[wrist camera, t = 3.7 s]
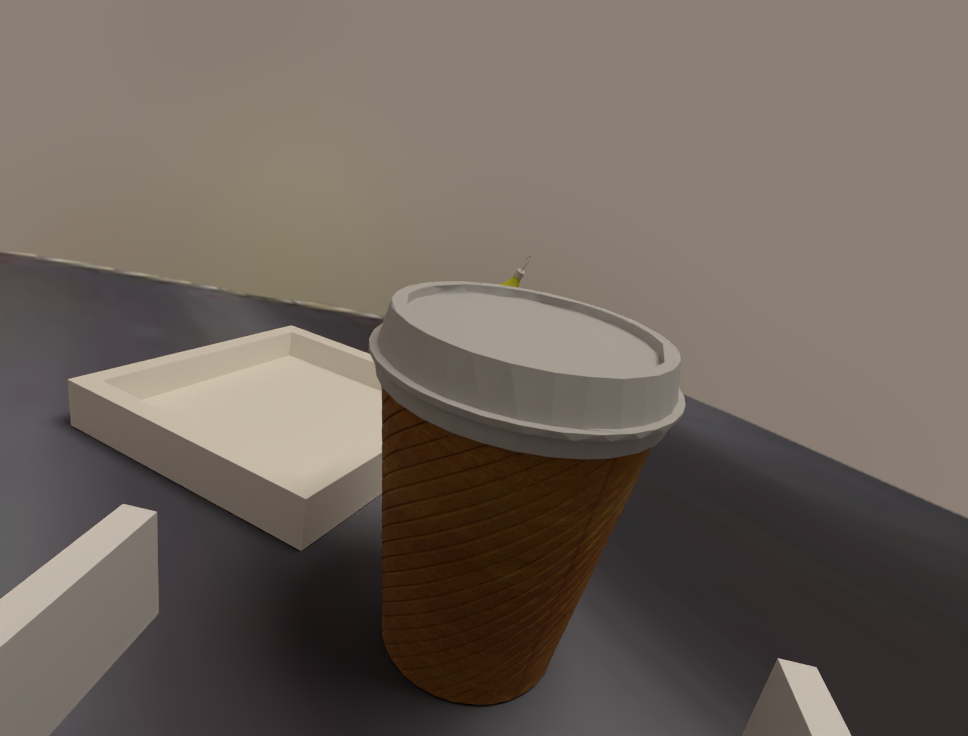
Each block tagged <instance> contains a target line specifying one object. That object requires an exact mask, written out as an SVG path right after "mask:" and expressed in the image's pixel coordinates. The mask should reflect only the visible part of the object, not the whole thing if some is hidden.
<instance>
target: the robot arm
mask: <svg viewBox="0 0 968 736" xmlns="http://www.w3.org/2000/svg"><path fill="white" fill-rule="evenodd" d="M158 613H159V604H158V538H157V512H155V511H151V510H147V509H142V508H138V507H134V506H130V505H125V504H122V505H121V506H120V507H118V508H117V509H116V510H115V511H113V512H112V513H111V514H109V515H108V516H107V517H106V518H104V519H103V520H102V521H100V522H99V523H98V524H97V525H95V526H94V527H93V528H91V529H90V530H89V531H88V532H86V533H85V534H84V535H82V536H81V537H80V538H79V539H77V540H76V541H75V542H73V543H72V544H71V545H70V546H68V547H67V548H66V549H64V550H63V551H62V552H61V553H59V554H58V555H57V556H55V557H54V558H53V559H52V560H50V561H49V562H48V563H46V564H45V565H44V566H43V567H41V568H40V569H39V570H37V571H36V572H35V573H33V574H32V575H31V576H30V577H28V578H27V579H26V580H24V581H23V582H22V583H21V584H19V585H18V586H17V587H15V588H14V589H13V590H12V591H10V592H9V593H8V594H6V595H5V596H4V597H3V598H1V599H0V736H49V735H50V734H51V733H52V732H53V731H54V729H55V728H56V727H57V726H58V725H59V724H60V723H61V722H62V721H63V719H64V718H65V717H66V716H67V715H68V714H69V713H70V712H71V710H72V709H73V708H74V707H75V706H76V705H77V704H78V703H79V702H80V700H81V699H82V698H83V697H84V696H85V695H86V694H87V693H88V691H89V690H90V689H91V688H92V687H93V686H94V685H95V684H96V683H97V681H98V680H99V679H100V678H101V677H102V676H103V675H104V674H105V672H106V671H107V670H108V669H109V668H110V667H111V666H112V665H113V664H114V662H115V661H116V660H117V659H118V658H119V657H120V656H121V655H122V653H123V652H124V651H125V650H126V649H127V648H128V647H129V646H130V645H131V643H132V642H133V641H134V640H135V639H136V638H137V637H138V636H139V634H140V633H141V632H142V631H143V630H144V629H145V628H146V627H147V626H148V624H149V623H150V622H151V621H152V620H153V619H154V618H155V617H156V615H157V614H158ZM742 736H851V734H850V732H849V730H848V728H847V726H846V724H845V722H844V720H843V719H842V717H841V715H840V713H839V711H838V709H837V707H836V705H835V703H834V701H833V699H832V697H831V695H830V693H829V691H828V689H827V687H826V685H825V683H824V681H823V679H822V677H821V675H820V673H819V671H818V670H817V668H816V667H812V666H808V665H804V664H800V663H795V662H791V661H787V660H783V659H777V661H776V663H775V666H774V668H773V670H772V672H771V674H770V676H769V678H768V681H767V683H766V685H765V687H764V689H763V691H762V693H761V696H760V698H759V700H758V702H757V704H756V706H755V708H754V710H753V713H752V715H751V717H750V719H749V721H748V723H747V725H746V728H745V730H744V732H743V734H742Z"/></svg>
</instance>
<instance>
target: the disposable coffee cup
mask: <svg viewBox="0 0 968 736" xmlns="http://www.w3.org/2000/svg"><path fill="white" fill-rule="evenodd" d="M369 353H370V355H371V357H372V359H373V361H374V363H375V368H376V376H377V378H378V380H379V382H380V384H381V388H382V495H383V497H382V527H383V528H382V536H381V537H382V543H383V544H382V551H381V552H382V558H383V559H382V573H383V574H382V587H383V589H382V601H383V603H382V615H383V616H382V637H383V640H384V643H385V646H386V650H387V652H388V654H389V656H390V658H391V659H392V661H393V663H394V664H395V665H396V666H397V668H398V669H399V670H400V671H401V672H402V673H403V675H404V676H406V677H407V678H408V679H409V680H411V681H412V682H413V683H414V684H416V685H417V686H418V687H420V688H422V689H424V690H425V691H427V692H429V693H431V694H433V695H435V696H437V697H440V698H443V699H446V700H449V701H452V702H458V703H466V704H474V705H487V704H495V703H500V702H505V701H509V700H511V699H513V698H515V697H517V696H519V695H521V694H523V693H525V692H527V691H528V690H529V689H531V688H532V687H533V686H535V685H536V684H537V683H538V681H539V680H540V679H541V677H542V676H543V675H544V674H545V672H546V669H547V667H548V665H549V662H550V660H551V658H552V656H553V653H554V651H555V649H556V647H557V645H558V643H559V641H560V638H561V637H562V635H563V633H564V631H565V629H566V627H567V624H568V622H569V620H570V618H571V616H572V614H573V612H574V609H575V607H576V606H577V604H578V602H579V599H580V597H581V595H582V593H583V592H584V590H585V588H586V585H587V583H588V581H589V578H590V577H591V575H592V572H593V570H594V568H595V566H596V564H597V562H598V560H599V557H600V555H601V553H602V551H603V549H604V547H605V546H606V544H607V541H608V539H609V536H610V535H611V533H612V531H613V529H614V527H615V524H616V522H617V520H618V518H619V516H620V514H621V512H622V510H623V507H624V505H625V503H626V501H627V499H628V498H629V495H630V493H631V491H632V488H633V486H634V484H635V483H636V481H637V479H638V476H639V474H640V471H641V469H642V467H643V465H644V463H645V461H646V459H647V457H648V455H649V452H650V450H651V448H652V447H653V446H655V445H656V444H657V443H658V442H659V441H660V440H661V439H662V438H663V437H664V436H665V435H666V432H667V430H669V429H670V428H671V427H673V426H674V425H675V424H676V423H678V421H679V420H680V418H681V416H682V414H683V411H684V408H685V400H684V396H683V394H682V392H681V390H680V388H679V378H680V364H681V357H680V354H679V351H678V350H677V349H676V347H675V346H674V345H673V344H672V343H671V342H669V341H668V340H667V339H665V338H664V337H663V336H662V335H660V334H658V333H656V332H654V331H653V330H651V329H649V328H647V327H645V326H643V325H642V324H640V323H638V322H636V321H634V320H631V319H629V318H627V317H624V316H622V315H619V314H617V313H614V312H611V311H608V310H606V309H603V308H600V307H597V306H593V305H590V304H586V303H583V302H579V301H576V300H572V299H569V298H565V297H561V296H557V295H554V294H549V293H544V292H539V291H533V290H529V289H523V288H518V287H512V286H504V285H497V284H490V283H477V282H462V281H453V282H452V281H449V282H428V283H422V284H416V285H410V286H407V287H405V288H403V289H401V290H399V291H397V292H396V293H395V295H394V296H393V297H392V299H391V302H390V305H389V308H388V311H387V313H386V316H385V319H384V321H383V323H382V324H381V325H379V326H378V327H377V328H375V329H374V331H373V332H372V334H371V336H370V338H369Z"/></svg>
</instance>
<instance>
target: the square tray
mask: <svg viewBox="0 0 968 736" xmlns="http://www.w3.org/2000/svg"><path fill="white" fill-rule="evenodd" d="M68 391H69V405H70V419H71V426H73V427H75V428H77V429H79V430H81V431H82V432H84V433H86V434H88V435H90V436H92V437H93V438H95V439H97V440H99V441H101V442H103V443H104V444H106V445H108V446H110V447H112V448H114V449H115V450H117V451H119V452H121V453H123V454H125V455H126V456H128V457H130V458H132V459H134V460H136V461H137V462H139V463H141V464H143V465H145V466H147V467H148V468H150V469H152V470H154V471H156V472H158V473H159V474H161V475H163V476H165V477H167V478H168V479H170V480H172V481H174V482H176V483H178V484H179V485H181V486H183V487H185V488H187V489H189V490H190V491H192V492H194V493H196V494H198V495H200V496H201V497H203V498H205V499H207V500H209V501H211V502H212V503H214V504H216V505H218V506H220V507H222V508H223V509H225V510H227V511H229V512H231V513H233V514H234V515H236V516H238V517H240V518H242V519H244V520H245V521H247V522H249V523H251V524H253V525H255V526H256V527H258V528H260V529H262V530H264V531H265V532H267V533H269V534H271V535H273V536H275V537H276V538H278V539H280V540H282V541H284V542H286V543H287V544H289V545H291V546H293V547H295V548H297V549H298V550H300V551H302V550H304V549H305V548H306V547H308V546H309V545H310V544H312V543H313V542H315V541H316V540H317V539H319V538H320V537H322V536H323V535H324V534H326V533H327V532H329V531H330V530H331V529H333V528H334V527H336V526H337V525H338V524H340V523H341V522H343V521H344V520H345V519H347V518H348V517H350V516H351V515H352V514H354V513H355V512H357V511H358V510H359V509H361V508H362V507H363V506H365V505H366V504H368V503H369V502H370V501H372V500H373V499H375V498H376V497H377V496H379V495H380V494H382V388H381V384H380V382H379V380H378V378H377V376H376V368H375V363H374V361H373V359H372V357H371V355H370V354H368V353H365V352H362V351H360V350H357V349H354V348H351V347H349V346H346V345H343V344H341V343H338V342H335V341H332V340H330V339H327V338H324V337H322V336H319V335H316V334H313V333H311V332H308V331H305V330H302V329H300V328H297V327H294V326H292V325H291V326H287V327H283V328H279V329H275V330H271V331H266V332H262V333H258V334H254V335H250V336H246V337H242V338H237V339H233V340H229V341H225V342H221V343H217V344H213V345H208V346H204V347H200V348H196V349H192V350H188V351H183V352H179V353H175V354H171V355H167V356H163V357H159V358H154V359H150V360H146V361H142V362H138V363H134V364H130V365H125V366H121V367H117V368H113V369H109V370H105V371H100V372H96V373H92V374H88V375H84V376H80V377H76V378H71V379H68Z"/></svg>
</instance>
